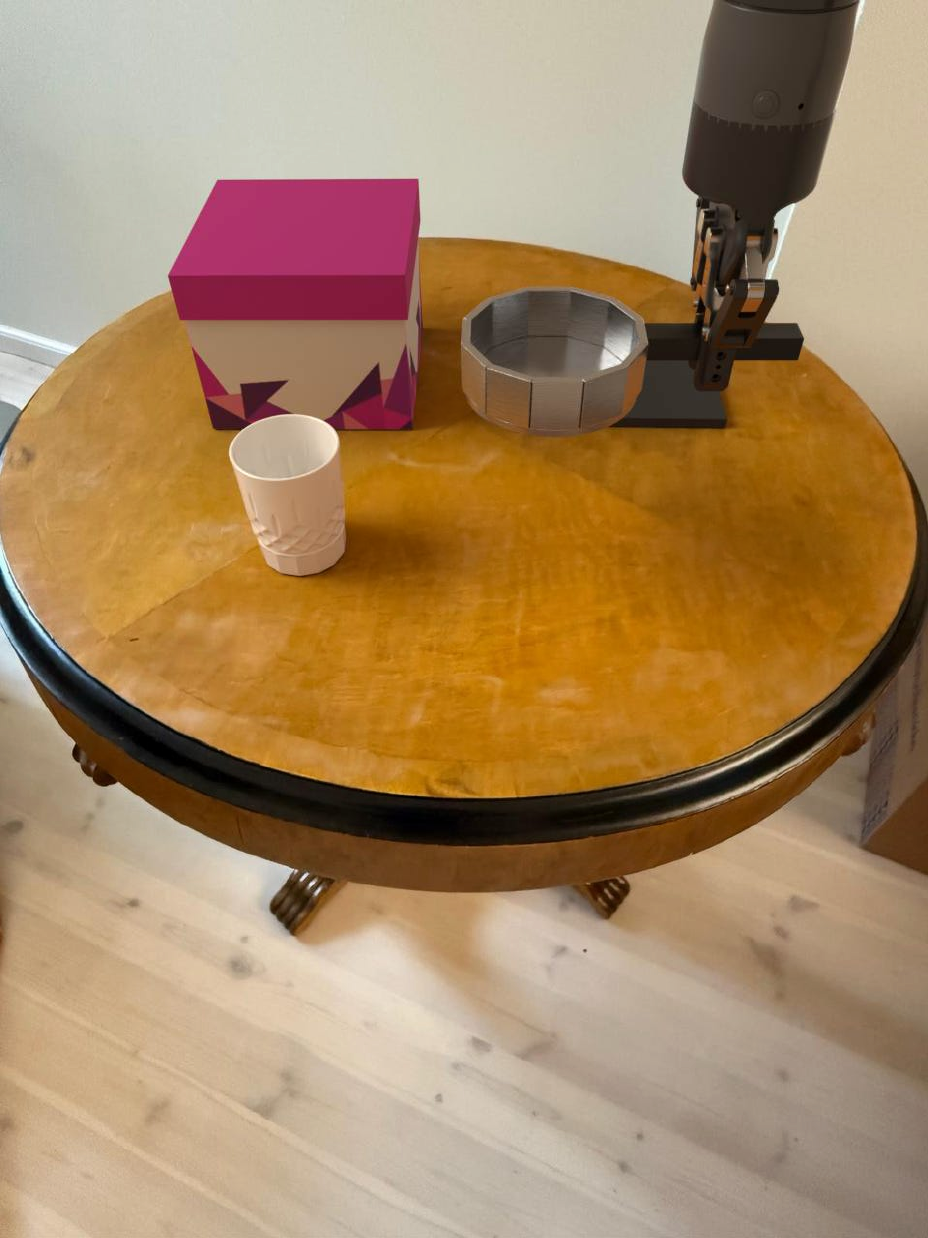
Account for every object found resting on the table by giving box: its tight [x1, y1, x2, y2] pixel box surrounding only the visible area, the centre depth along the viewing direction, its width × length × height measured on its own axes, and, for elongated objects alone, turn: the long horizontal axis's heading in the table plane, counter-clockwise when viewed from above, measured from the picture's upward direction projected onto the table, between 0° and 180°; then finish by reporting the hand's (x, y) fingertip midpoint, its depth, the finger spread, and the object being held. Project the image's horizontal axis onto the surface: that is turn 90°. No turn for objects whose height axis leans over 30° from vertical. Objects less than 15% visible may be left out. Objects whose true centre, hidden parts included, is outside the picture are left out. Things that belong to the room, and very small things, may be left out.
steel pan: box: [460, 286, 805, 438], centre depth 60 cm, size 22×12×4 cm, turn 89°
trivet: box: [607, 360, 728, 429], centre depth 87 cm, size 16×16×1 cm
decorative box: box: [167, 178, 424, 430], centre depth 83 cm, size 19×19×15 cm
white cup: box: [228, 414, 347, 577], centre depth 68 cm, size 8×8×10 cm
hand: (706, 376), depth 61 cm, fingers closed on steel pan, 2 cm apart
